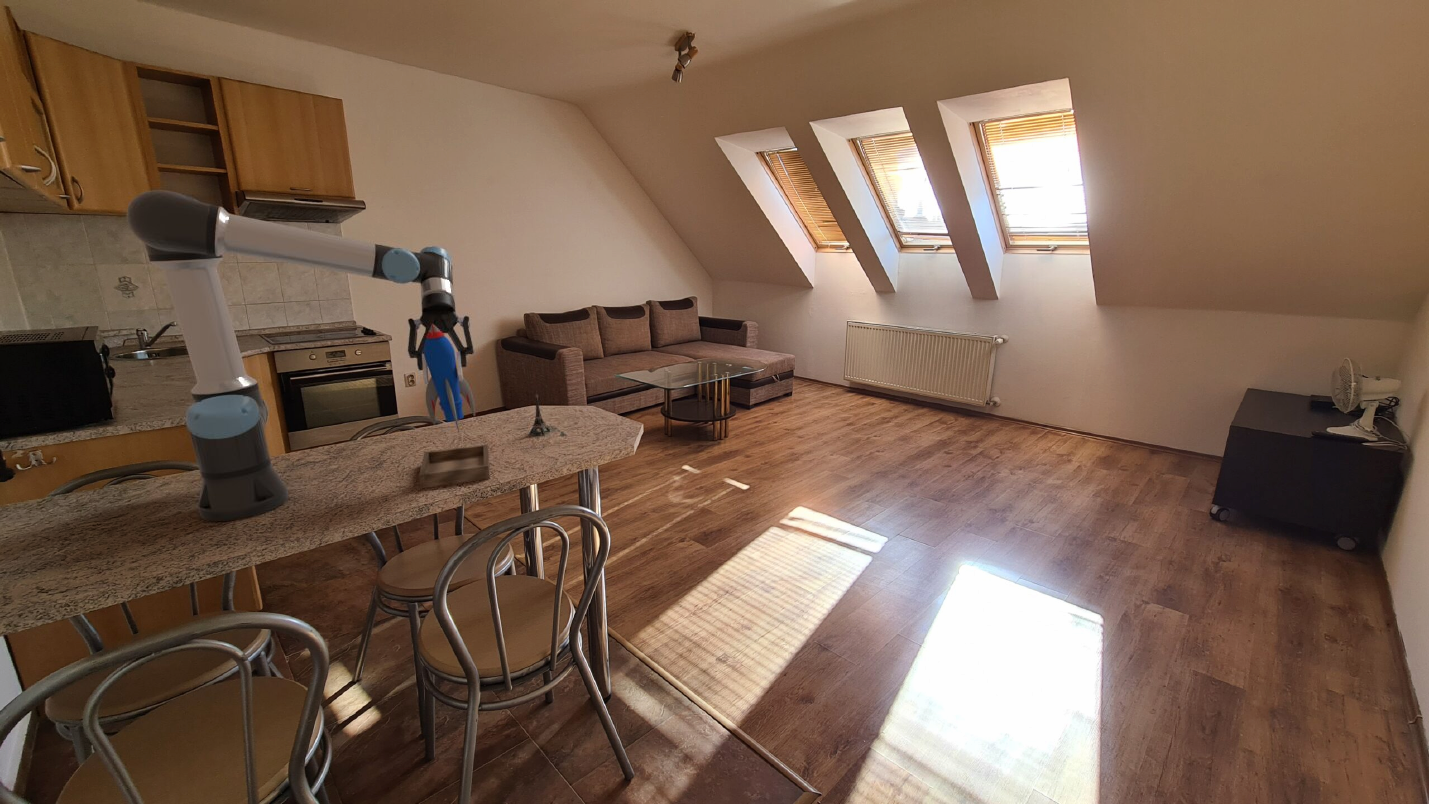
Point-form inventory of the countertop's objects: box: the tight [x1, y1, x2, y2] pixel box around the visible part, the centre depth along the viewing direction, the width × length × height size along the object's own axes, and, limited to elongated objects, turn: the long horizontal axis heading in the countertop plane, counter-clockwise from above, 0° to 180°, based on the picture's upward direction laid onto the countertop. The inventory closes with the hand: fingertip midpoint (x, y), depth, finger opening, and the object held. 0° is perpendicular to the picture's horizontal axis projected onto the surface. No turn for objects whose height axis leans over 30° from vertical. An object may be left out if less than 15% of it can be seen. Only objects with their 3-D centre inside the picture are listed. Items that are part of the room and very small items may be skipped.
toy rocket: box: [424, 324, 476, 433], centre depth 136 cm, size 11×10×25 cm
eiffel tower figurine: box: [516, 392, 568, 437], centre depth 170 cm, size 15×10×13 cm
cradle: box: [418, 443, 491, 489], centre depth 144 cm, size 15×16×3 cm
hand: (443, 379), depth 134 cm, fingers closed on toy rocket, 7 cm apart
